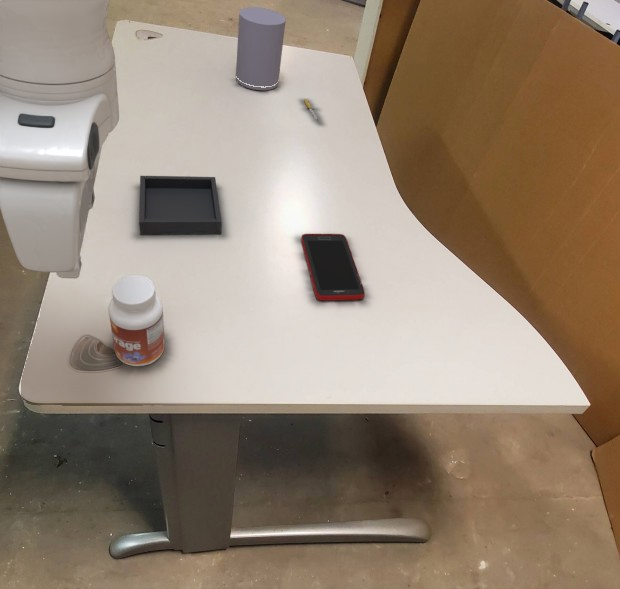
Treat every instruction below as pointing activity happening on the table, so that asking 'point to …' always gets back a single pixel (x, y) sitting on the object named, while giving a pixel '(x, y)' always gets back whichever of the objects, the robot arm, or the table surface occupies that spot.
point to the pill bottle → (136, 321)
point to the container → (259, 47)
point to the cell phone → (332, 267)
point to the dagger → (310, 108)
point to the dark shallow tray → (179, 205)
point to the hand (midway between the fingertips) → (77, 236)
